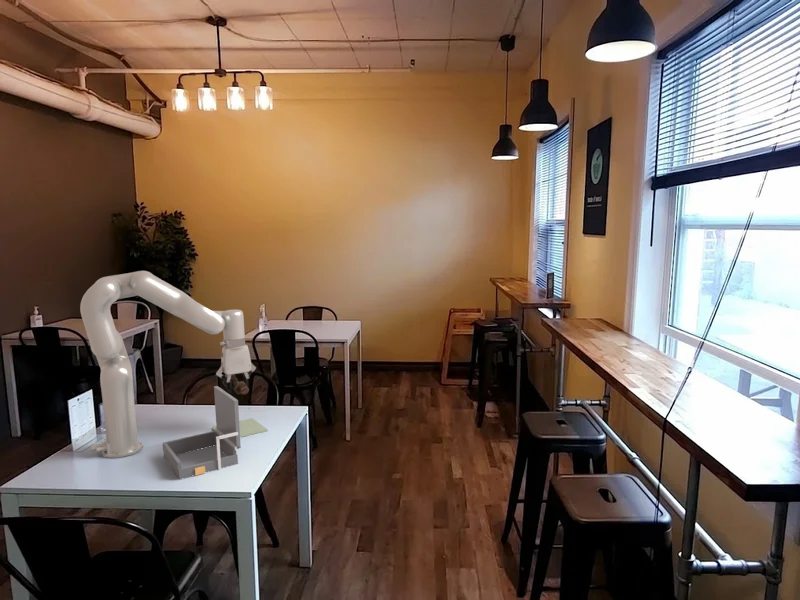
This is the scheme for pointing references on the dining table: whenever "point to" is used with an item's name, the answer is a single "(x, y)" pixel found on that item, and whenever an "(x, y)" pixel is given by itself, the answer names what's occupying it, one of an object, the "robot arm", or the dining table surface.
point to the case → (210, 439)
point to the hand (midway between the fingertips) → (237, 389)
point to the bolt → (237, 385)
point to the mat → (249, 427)
